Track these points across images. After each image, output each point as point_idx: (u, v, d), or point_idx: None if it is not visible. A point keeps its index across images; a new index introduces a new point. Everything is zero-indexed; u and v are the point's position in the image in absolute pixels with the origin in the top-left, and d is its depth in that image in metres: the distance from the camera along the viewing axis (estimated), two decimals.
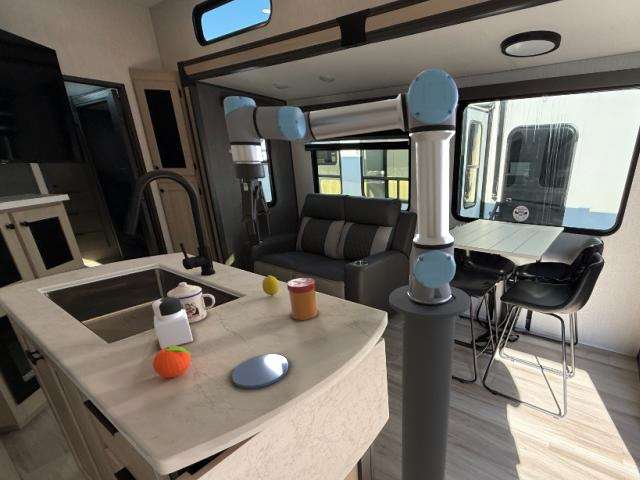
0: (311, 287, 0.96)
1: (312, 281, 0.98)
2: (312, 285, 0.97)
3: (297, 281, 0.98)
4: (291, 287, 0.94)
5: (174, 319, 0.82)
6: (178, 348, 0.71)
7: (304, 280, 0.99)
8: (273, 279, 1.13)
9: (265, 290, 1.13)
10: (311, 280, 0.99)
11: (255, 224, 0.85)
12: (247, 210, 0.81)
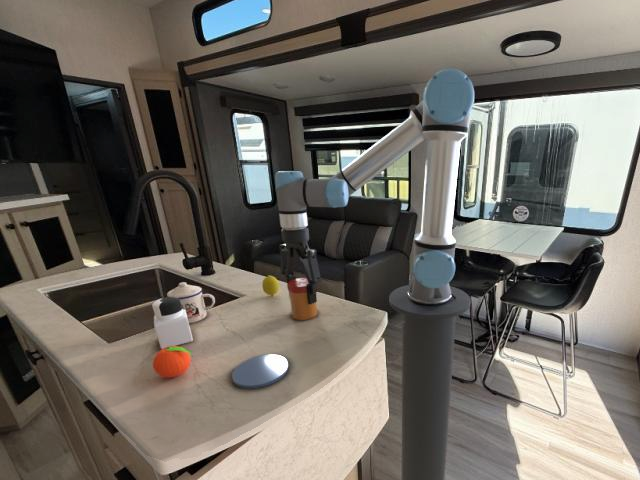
0: None
1: None
2: None
3: (297, 281, 0.98)
4: (291, 287, 0.94)
5: (174, 319, 0.82)
6: (178, 348, 0.71)
7: (304, 280, 0.99)
8: (273, 279, 1.13)
9: (265, 290, 1.13)
10: None
11: None
12: None
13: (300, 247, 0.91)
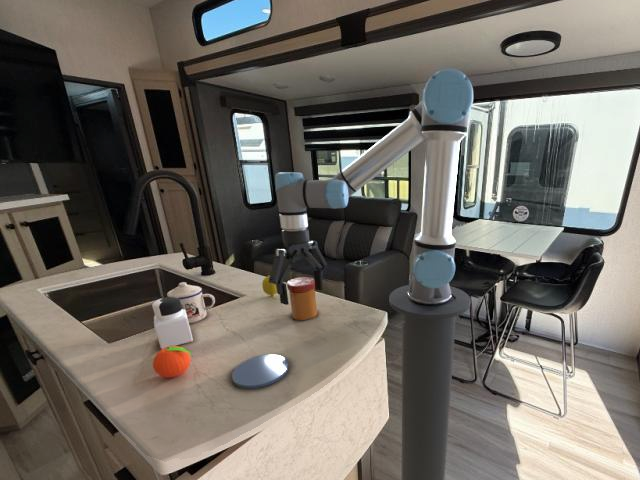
0: None
1: (302, 277, 1.01)
2: None
3: (297, 282, 0.96)
4: (311, 284, 0.96)
5: (174, 319, 0.82)
6: (178, 348, 0.71)
7: (297, 280, 0.98)
8: None
9: (265, 290, 1.13)
10: (298, 278, 1.00)
11: (283, 286, 0.91)
12: (273, 274, 0.89)
13: (306, 245, 0.95)
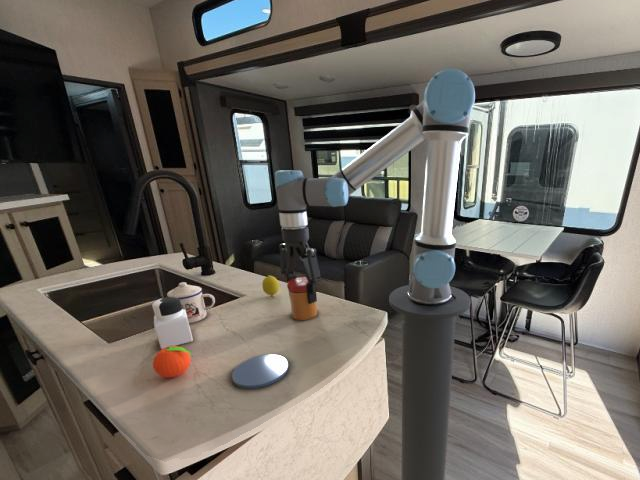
0: None
1: (302, 277, 1.01)
2: None
3: (297, 282, 0.96)
4: None
5: (174, 319, 0.82)
6: (178, 348, 0.71)
7: (297, 280, 0.98)
8: (273, 279, 1.13)
9: (265, 290, 1.13)
10: (298, 278, 1.00)
11: None
12: None
13: (300, 246, 0.91)
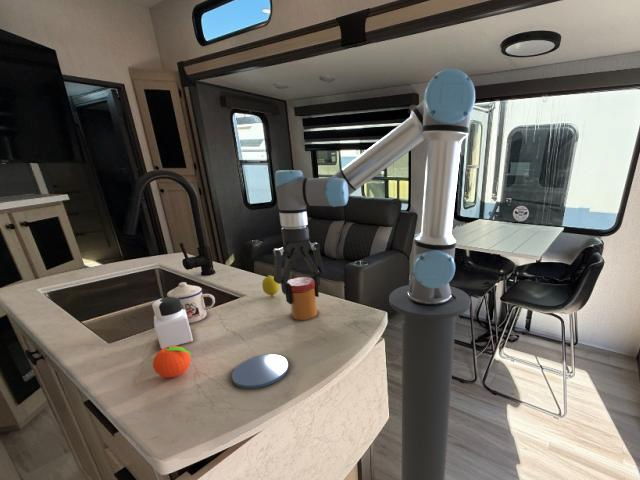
0: None
1: (290, 280, 0.98)
2: None
3: (303, 282, 0.97)
4: None
5: (174, 319, 0.82)
6: (178, 348, 0.71)
7: (296, 282, 0.97)
8: (273, 279, 1.13)
9: (265, 290, 1.13)
10: (290, 282, 0.97)
11: (287, 286, 0.94)
12: (275, 274, 0.92)
13: (307, 243, 0.95)
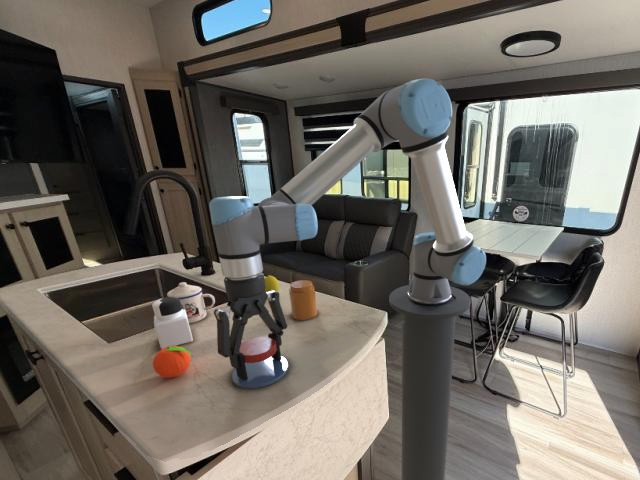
0: None
1: (240, 347, 0.70)
2: None
3: (260, 347, 0.70)
4: None
5: (174, 319, 0.82)
6: (178, 348, 0.71)
7: (250, 348, 0.70)
8: (273, 279, 1.13)
9: (265, 290, 1.13)
10: (240, 349, 0.70)
11: (239, 357, 0.67)
12: (220, 345, 0.64)
13: (263, 294, 0.69)
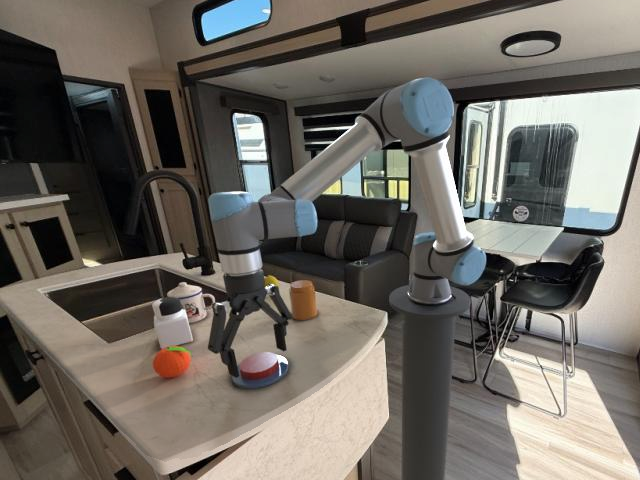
0: None
1: (243, 363, 0.72)
2: None
3: (263, 363, 0.72)
4: None
5: (174, 319, 0.82)
6: (178, 348, 0.71)
7: (253, 365, 0.71)
8: (273, 279, 1.13)
9: None
10: (243, 365, 0.71)
11: (230, 353, 0.65)
12: (212, 340, 0.62)
13: (262, 291, 0.68)
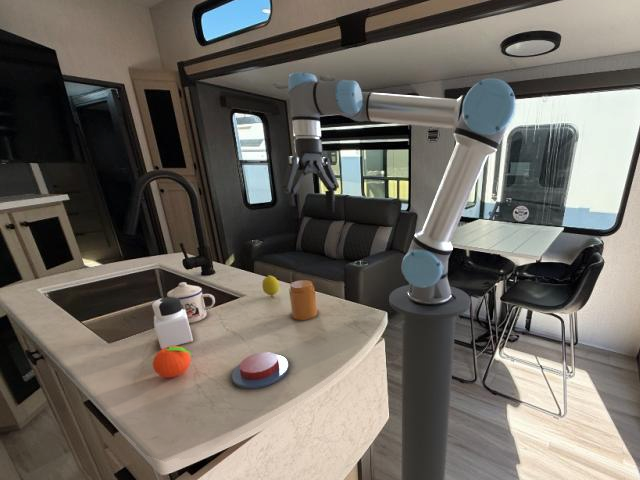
0: None
1: (243, 363, 0.72)
2: None
3: (263, 363, 0.72)
4: None
5: (174, 319, 0.82)
6: (178, 348, 0.71)
7: (253, 365, 0.71)
8: (273, 279, 1.13)
9: (265, 290, 1.13)
10: (243, 365, 0.71)
11: (296, 196, 0.89)
12: (286, 182, 0.86)
13: (319, 158, 0.93)
